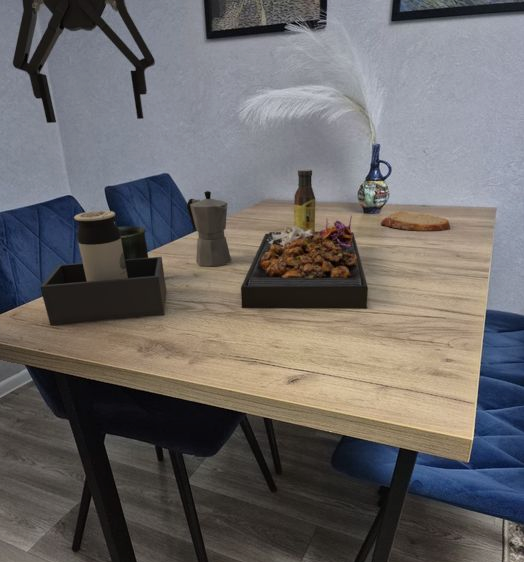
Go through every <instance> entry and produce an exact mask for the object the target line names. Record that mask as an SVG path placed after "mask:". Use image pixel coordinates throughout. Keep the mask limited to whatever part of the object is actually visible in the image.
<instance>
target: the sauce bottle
mask: <svg viewBox="0 0 524 562" xmlns="http://www.w3.org/2000/svg"><path fill="white" fill-rule="evenodd" d="M297 177H298V183H297V186H298V187H297V189H296V191H295V193H294V198H293V200H294V204H293V227H294V226H296V227H298V228H300V229H303V231H304V232H305V231H308V230H310V229H311V231H313V232H316V196H315V192H314V189H313V186H312V177H313V170H312V169H298V170H297Z"/></svg>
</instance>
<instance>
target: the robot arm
mask: <svg viewBox="0 0 524 562" xmlns="http://www.w3.org/2000/svg"><path fill="white" fill-rule="evenodd" d="M21 2H22V8H23V10H22V15H21V21H20V25H19V30H18V35H17V40H16V44H15V49H14V54H13V59H12V66H13V67H14V68H15V69H17V70H20V71H22V72H26V74H27V75H28V77H29V80H30V84H31V90H32V94H33V96H34V98H35V99H37V100H40V99H41V102H42V107H43V111H44V116H45V120H46V124H47V123H48V124H53V123H57V120H56V119H57V118H56V115H55V110H54V104H53V100H52V96H51V92H50V91H51V90H50V87H49V81H48V76H47V74H44V73H41V72H42V70H43V67H44V66H45V63H46V62H47V60H48V59H49V56H50V54H51V52H52V51H53V49H54V47H55V45H56V44H57V41H58V40H59V37H60V36H61V35H62V34H63V32H64V30H65V29H66V30H67V31H70V32H77V31H80V30H83V31H86V32H93V30H95V29H96V28H97V27H98V29H99V30H101V32H103V34H104V35H105V36H106V37H107V39H109V41H111V43H112V44H113V45H114V46H115V47H116V48H117V49H118V50H119V51H120V53H121V54H122V55H123V56H124V57H125V58H126V60H128V61H129V63H130V64H131V65H132V66H133V67H134V68H135V70H130V76H131V83H132V90H133V98H134V103H135V112H136V119H138V120H140V119H141V120H142V119H144V112H143V105H142V97H141V96H142V95H143V96H144V95H147V92H148V89H147V82H146V73H145V72H146V70H147V69H148V68H150V67H153V66H155V64H156V59H155V58H154V56H153V54H152V52H151V50H150V49H149V47H148V45H147V44H146V42H145V40H144V38H143V36H142V35H141V33H140V31H139V29H138V28H137V26H136V24H135V22H134V20H133V18H132V17H131V15H130V13H129V11H128V8H127V3H126V0H21ZM107 5H109V6H110V7H111V9H112V10H113V11H114V12H118V14H119V16H120V18H121V19H122V22H123V24H124V25H125V27H126V29H127V30H128V32H129V34H130V35H131V37H132V39H133V41H134V42H135V44H136V46H137V48H138V49H139V51H140V53H141V54H142V55H141V56H142V57H143V58H141V59H139V58H138V56H136V54H135V53H134V52H133V51H132V50H131V49H130V47H128V45H127V44H126V43H125V41H123V40H122V39H121V38H120V36H118V34H117V33H116V32H115V31H114V30H113V29H112V27H111V26H110V25H109V24H108V23H107V22H106V21H105V20H104V19H103V17H102V15H103V13H104V11H105V9H106V6H107ZM43 6H45V7H46V8H47V9H48V11H49V13H51V17H50V19H49V21H48V23H47V27H46V29H45V31H44V33H43V35H42V36H41V39H40V41H39V42H38V44H37V46H36V48H35V49H34V52H33V54H32V56H31V58H30V53H31V49H32V43H33V39H34V34H35V31H36V24H37V22H38V21H37V20H38V14H40V13H41V11H42V8H43ZM29 58H30V60H29Z"/></svg>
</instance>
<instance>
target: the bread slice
mask: <svg viewBox="0 0 524 562" xmlns="http://www.w3.org/2000/svg"><path fill="white" fill-rule="evenodd" d="M381 224H383V225H382V226H385V225H386V226H385V227H388V228H390V227H392V228H391V229H395V228H398V229H397V230H402V229H406V230H405V231H416V230H417V231H418V232H438V231H445V230H449V229H451V224H450V221H449V220H448V219H447V218H444V217H440V216H434V215H429V214H421V213H414V212H413V213H412V212H405V211H398V212H394V213H391V214H390V215H388V216H386V217H385V218H383V219H382V220H381V222H380V225H381ZM417 231H416V232H417Z"/></svg>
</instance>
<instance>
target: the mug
mask: <svg viewBox="0 0 524 562" xmlns="http://www.w3.org/2000/svg"><path fill="white" fill-rule="evenodd" d="M117 227H118V228H119V231H120V236H121V242H122V248H123V253H124V259H138V258H149V252H148V245H147V239H146V232H147V229H146V228H145V227H143V226H135V225H129V226H127V225H126V226H117Z"/></svg>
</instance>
